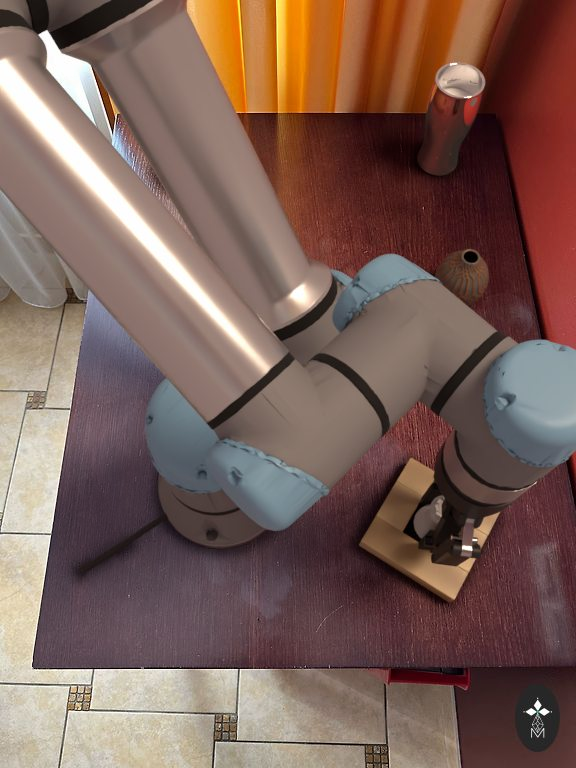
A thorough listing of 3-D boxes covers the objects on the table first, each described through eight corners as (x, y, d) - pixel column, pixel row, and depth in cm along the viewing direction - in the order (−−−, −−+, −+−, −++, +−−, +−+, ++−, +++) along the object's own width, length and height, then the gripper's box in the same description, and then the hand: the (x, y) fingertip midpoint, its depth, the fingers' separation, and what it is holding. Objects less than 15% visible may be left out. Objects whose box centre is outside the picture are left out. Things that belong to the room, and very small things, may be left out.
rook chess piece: (451, 508, 79) (469, 489, 72) (451, 546, 78) (469, 531, 70) (413, 504, 80) (426, 485, 72) (412, 542, 78) (425, 527, 70)
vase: (478, 319, 93) (496, 284, 85) (427, 310, 93) (440, 274, 85) (482, 277, 96) (500, 238, 88) (433, 268, 96) (446, 229, 88)
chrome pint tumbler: (405, 151, 105) (424, 70, 91) (445, 137, 106) (469, 54, 92) (428, 184, 102) (451, 105, 89) (468, 169, 103) (497, 89, 90)
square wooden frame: (449, 603, 78) (454, 600, 75) (358, 545, 80) (360, 541, 78) (495, 515, 82) (501, 510, 79) (407, 463, 84) (410, 457, 82)
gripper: (534, 574, 53) (462, 608, 75) (531, 373, 61) (466, 456, 82) (437, 561, 54) (393, 598, 75) (446, 362, 61) (403, 448, 82)
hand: (431, 524), depth 78 cm, fingers closed on rook chess piece, 4 cm apart
